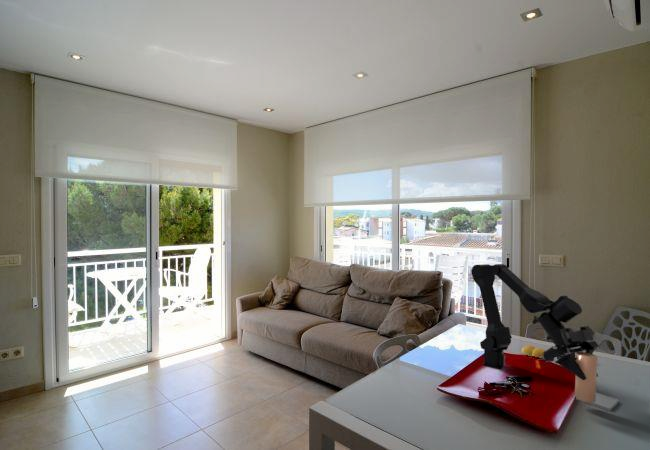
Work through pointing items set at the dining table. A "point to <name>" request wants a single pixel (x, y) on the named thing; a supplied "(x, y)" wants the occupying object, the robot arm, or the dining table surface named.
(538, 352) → the bread roll
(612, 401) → the slate coaster
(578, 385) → the peach pillar candle
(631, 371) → the dining table surface
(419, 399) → the dining table surface
